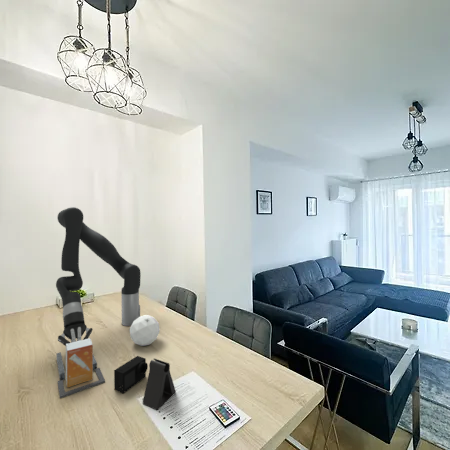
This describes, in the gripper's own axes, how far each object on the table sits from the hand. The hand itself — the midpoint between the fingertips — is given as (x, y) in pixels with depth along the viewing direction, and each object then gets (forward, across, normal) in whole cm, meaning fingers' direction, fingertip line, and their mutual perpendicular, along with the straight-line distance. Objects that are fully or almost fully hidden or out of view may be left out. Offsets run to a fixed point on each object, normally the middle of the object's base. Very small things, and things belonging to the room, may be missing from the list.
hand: (78, 355), depth 99 cm
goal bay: (+11, -1, -5) cm, 12 cm away
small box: (+10, -1, -4) cm, 11 cm away
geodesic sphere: (+2, +28, +4) cm, 28 cm away
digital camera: (+20, +13, -14) cm, 28 cm away
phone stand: (+29, +18, -23) cm, 41 cm away
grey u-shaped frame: (+2, 0, +5) cm, 5 cm away
